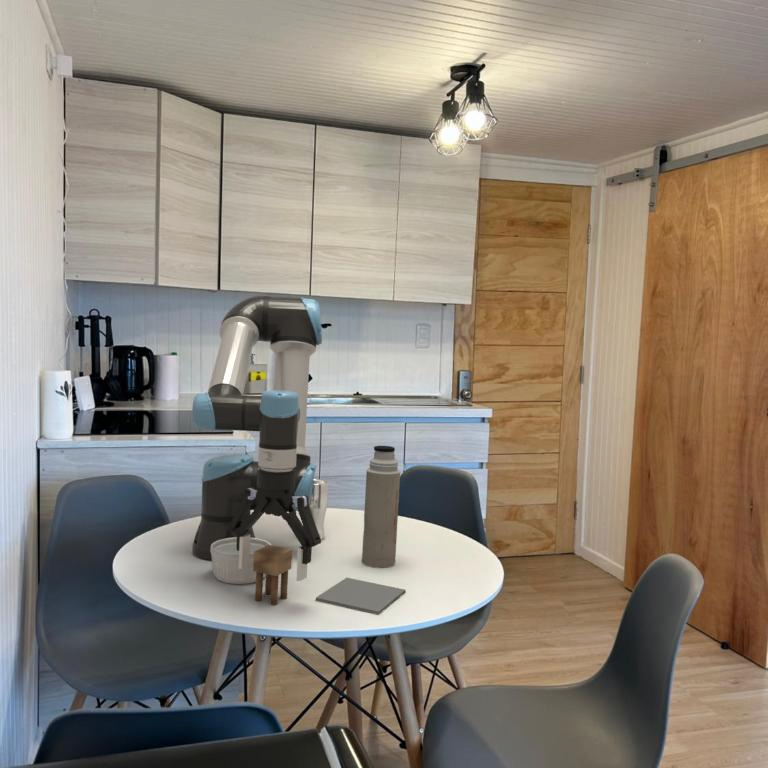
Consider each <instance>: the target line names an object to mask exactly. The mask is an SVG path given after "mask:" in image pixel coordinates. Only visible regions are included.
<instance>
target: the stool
mask: <svg viewBox="0 0 768 768" xmlns="http://www.w3.org/2000/svg"><path fill="white" fill-rule="evenodd" d="M292 560H293V549H292V548H287V547H282V546H278V545H277V546H276V545H274V544H273V545H272V544H271V545H267V546H265V547H263V548H261V549H259V550H256V551H254V563H253V571H254V572H256V582H255V592H254V594H255V595H254V598H255V599H254V601H256V602H262V601H263V590H264V595H265V596H267V597H270V601H269V604H270V605H272V606H276V605H278V603H279V602H278V600H279V598H280V599H281V600H287V599H288V586H289V585H288V583H289V581H288V580H289V571H290V570H291V569H292V565H293V564H292ZM263 574H266V576H265V583H264V578H263ZM279 577H280V581H279ZM279 582H280V589H279ZM264 584H265V585H264ZM263 585H264V586H265V589H263V588H264V587H263ZM279 590H280V591H279ZM278 597H279V598H278Z"/></svg>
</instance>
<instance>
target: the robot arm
mask: <svg viewBox="0 0 768 768" xmlns="http://www.w3.org/2000/svg"><path fill="white" fill-rule="evenodd" d="M321 318H322V317H321V309H320V303H319V302H318V301H317V300H315V299H312V298H304V297H290V296H289V297H288V296H270V295H269V296H268V295H267V296H266V295H255V296H251V297H248V298H245V299H243V300H241V301H240V302H238V303H237V304H235V305H234V306H233V307H231V308H230V310H228V312H227V313H226V314H225V316H224V317H223V319H222V321H221V324H220V327H219V337H220V344H219V348H218V352H217V356H216V358H215V363H214V367H213V371H212V374H211V377H210V382H209V386H208V390H207V392H203V393H197V394H196V395H195V396H194V398H193V402H192V406H191V407H192V411H191V412H192V414H191V416H192V417H191V418H192V423H193V426H194V427H195V428H197V429H203V430H211V431H240V432H241V431H244V432H259V442H258V457H257V458H258V460H257V461H255V459H254V457H253V455H252V454H249V453H235V454H231V453H230V454H226V455H219V456H214V457H211V458H209V459H208V460H207V461H206V462H205V463H204V464H203V468H202V469H203V470H202V478H201V481H202V482H201V483H202V484H201V486H202V487H201V510H200V512H201V514H200V517H201V518H200V522H199V525H198V528H197V529H196V532H195V536H194V538H193V540H192V554H193V555H194V556H195V557H197V558H200V559H204V560H208V561H212V555H211V552H210V549H211V545H212V543H214V542H216V541H218V540H221V539H226V538H234V537H237V544H236V549H237V551H239V568H238V569H243V568H245V567H247V566H249V558H250V538H256V536H255V531H254V529H253V527H254V525H255V524H256V523H257V521H258V520H260V518H261V517H262V516H263V515H264V514H265V515H268V516H269V515H272V516H275V517H282V520H284V521H285V522H286V523H287V525H288V526H289V528H290V529H291V531H292V533H293V535H294V536H295V538H296V539H297V541H298V542H299V544H300V546H299V547H297V563H296V564H297V565H296V582H302V581H303V580H305V579H307V576H308V564H310V563H312V553H313V552H312V549H313V548H314V547H316V546H318V545H319V544H321V543H322V540H321V538H320V535H319V533H318V530H317V527H316V525H315V522H314V519H313V516H312V514H311V511H310V508H309V503H310V498H311V492H312V487H313V482H314V479H315V474H316V469H317V465H316V464H315V463H314V462H311V454H309V453H308V451H306V433H307V432H306V431H307V430H306V429H307V416H308V415H307V414H308V397H309V396H308V394H309V393H308V391H309V378H310V377H309V375H310V373H309V372H310V357H311V356H312V355H313V354H314V353H316V351H317V346H320V345H322V344H323V334H322V333H323V332H322V319H321ZM258 342H264V343H265V342H267V343H270V345H269V348H270V350H271V351H272V352H273V353H274V354H275V358H274V359H275V360H274V374H273V375H274V378H273V390H272V389H271V390H265V391H263V392H262V393H261V395H247V394H244V392H245V386H246V384H247V377H248V372H249V367H250V362H251V359H252V358H251V356H252V353H253V347H254V346H255V345H256V344H257V343H258ZM297 512H298V513H297ZM297 514H298V515H297ZM298 516H299V517H300V518H299V517H298Z"/></svg>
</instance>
